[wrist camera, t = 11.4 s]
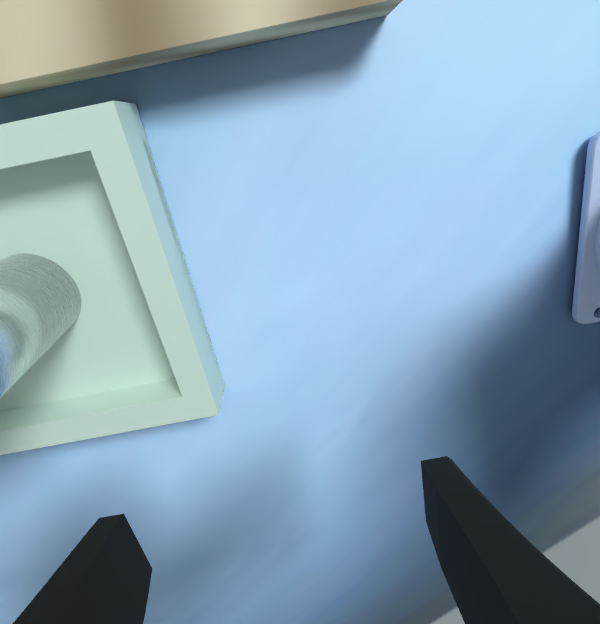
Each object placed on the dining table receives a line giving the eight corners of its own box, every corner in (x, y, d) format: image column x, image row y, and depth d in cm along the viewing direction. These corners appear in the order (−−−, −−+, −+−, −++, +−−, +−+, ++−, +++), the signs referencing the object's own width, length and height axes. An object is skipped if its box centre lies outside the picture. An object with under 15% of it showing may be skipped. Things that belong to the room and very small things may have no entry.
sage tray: (135, 103, 15) (113, 100, 13) (224, 385, 20) (218, 414, 18) (-188, 172, 15) (-260, 179, 13) (-21, 430, 20) (-54, 465, 18)
